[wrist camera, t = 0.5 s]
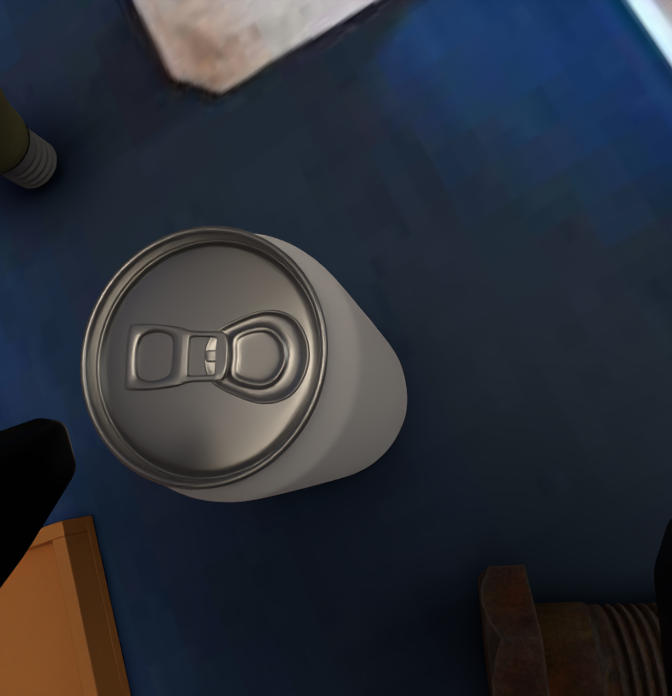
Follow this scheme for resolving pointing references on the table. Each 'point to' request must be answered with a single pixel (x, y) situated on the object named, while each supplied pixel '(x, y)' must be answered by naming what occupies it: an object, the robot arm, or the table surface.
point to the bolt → (566, 643)
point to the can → (237, 368)
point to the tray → (60, 619)
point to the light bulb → (23, 150)
